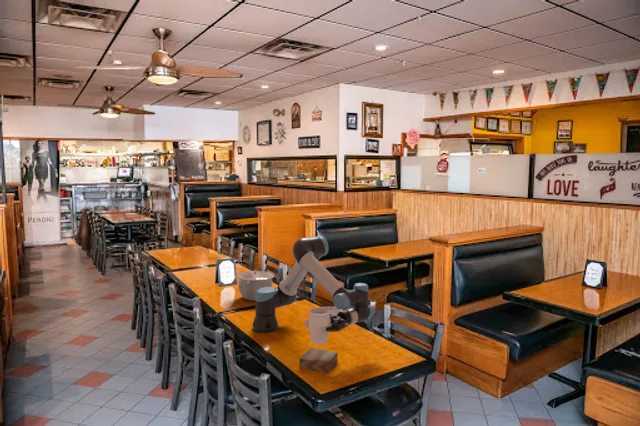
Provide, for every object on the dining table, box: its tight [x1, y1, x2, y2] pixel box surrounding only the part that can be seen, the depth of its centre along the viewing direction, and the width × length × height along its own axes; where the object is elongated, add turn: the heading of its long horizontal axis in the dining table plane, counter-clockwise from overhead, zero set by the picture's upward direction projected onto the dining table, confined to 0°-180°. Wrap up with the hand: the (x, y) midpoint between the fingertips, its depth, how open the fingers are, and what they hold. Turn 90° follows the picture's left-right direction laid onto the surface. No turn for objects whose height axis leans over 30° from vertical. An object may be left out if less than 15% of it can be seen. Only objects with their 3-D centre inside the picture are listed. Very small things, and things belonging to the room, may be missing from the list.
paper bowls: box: [322, 306, 344, 326], centre depth 276 cm, size 15×15×8 cm
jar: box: [308, 307, 330, 345], centre depth 216 cm, size 11×10×15 cm
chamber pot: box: [235, 269, 275, 302], centre depth 325 cm, size 28×28×21 cm
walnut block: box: [298, 347, 339, 374], centre depth 218 cm, size 14×14×5 cm
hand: (312, 327), depth 213 cm, fingers closed on jar, 10 cm apart
